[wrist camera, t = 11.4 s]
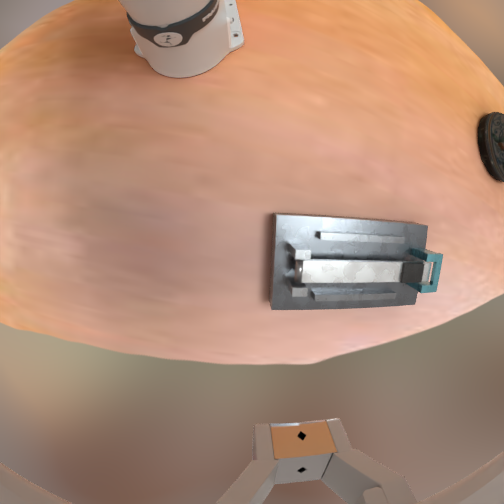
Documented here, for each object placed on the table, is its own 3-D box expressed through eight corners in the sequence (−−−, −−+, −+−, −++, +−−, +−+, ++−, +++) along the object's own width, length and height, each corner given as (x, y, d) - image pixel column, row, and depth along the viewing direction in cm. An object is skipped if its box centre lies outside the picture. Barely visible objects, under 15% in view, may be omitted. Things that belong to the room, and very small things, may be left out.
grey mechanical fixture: (273, 212, 41) (281, 217, 33) (417, 223, 43) (446, 229, 34) (268, 299, 44) (274, 323, 36) (406, 296, 45) (431, 314, 37)
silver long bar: (294, 258, 36) (297, 261, 35) (427, 261, 37) (433, 263, 36) (293, 280, 37) (295, 284, 35) (424, 278, 38) (430, 282, 36)
